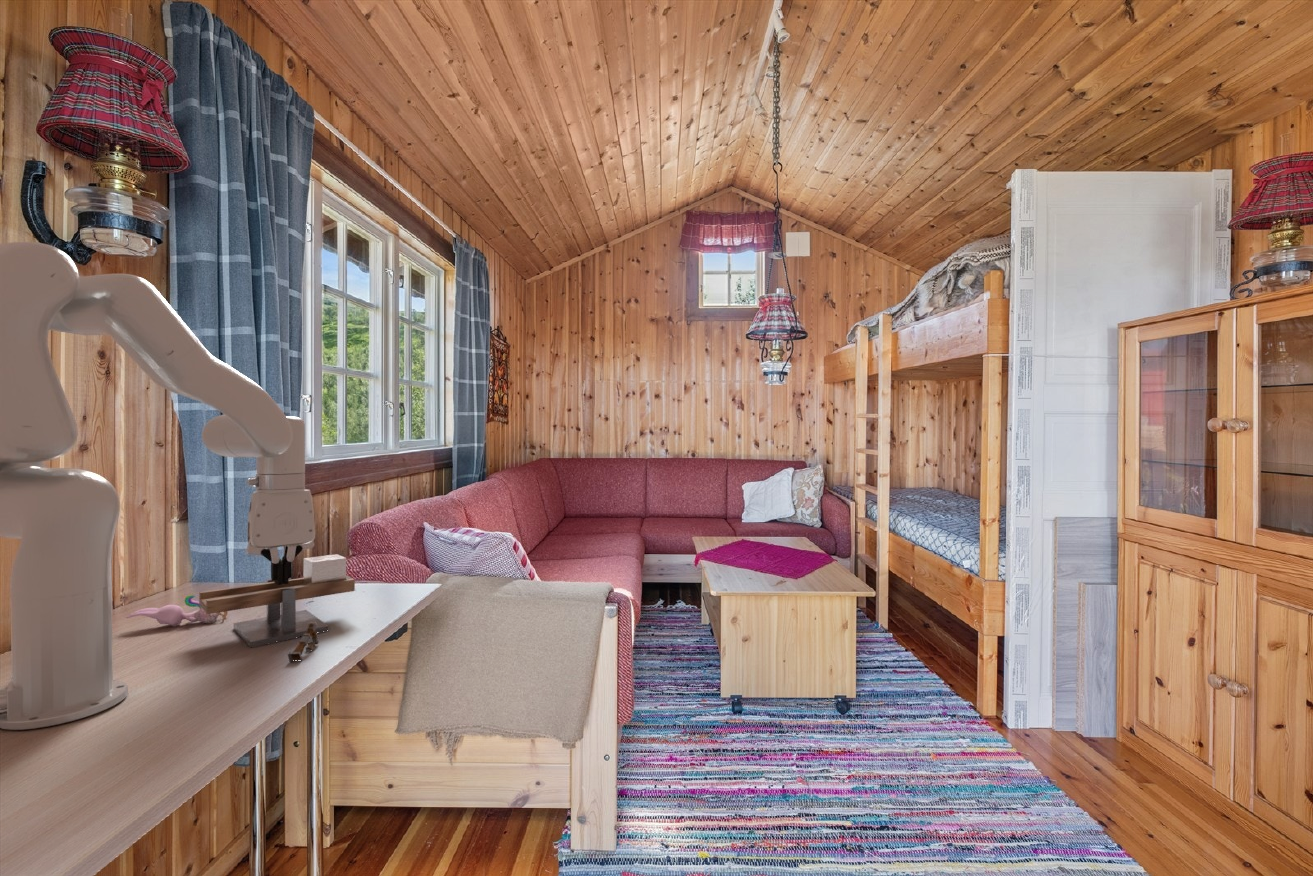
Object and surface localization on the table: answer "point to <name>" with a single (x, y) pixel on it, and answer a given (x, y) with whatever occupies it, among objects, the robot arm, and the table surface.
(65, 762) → the table surface
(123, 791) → the table surface
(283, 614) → the pivot stand
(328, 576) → the white block
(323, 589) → the balance beam
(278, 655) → the table surface
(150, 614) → the pink animal figure
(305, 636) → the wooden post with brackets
